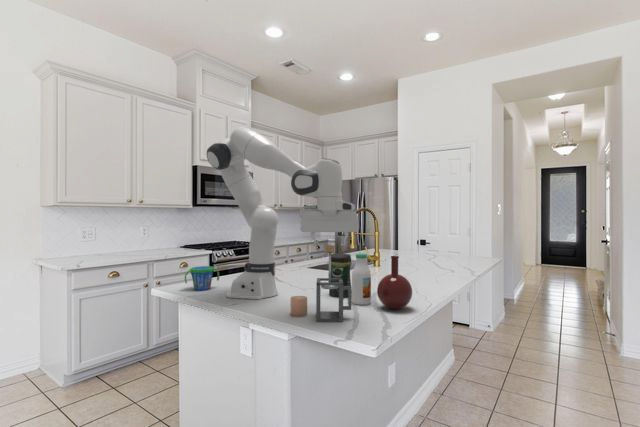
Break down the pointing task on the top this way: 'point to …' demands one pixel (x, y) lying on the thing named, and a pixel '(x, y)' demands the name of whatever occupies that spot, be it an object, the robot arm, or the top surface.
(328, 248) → the plunger
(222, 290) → the top surface
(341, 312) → the frame
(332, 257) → the coffee jar
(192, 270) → the snack cup
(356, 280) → the milk bottle
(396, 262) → the round-bottom flask
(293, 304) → the wooden block
